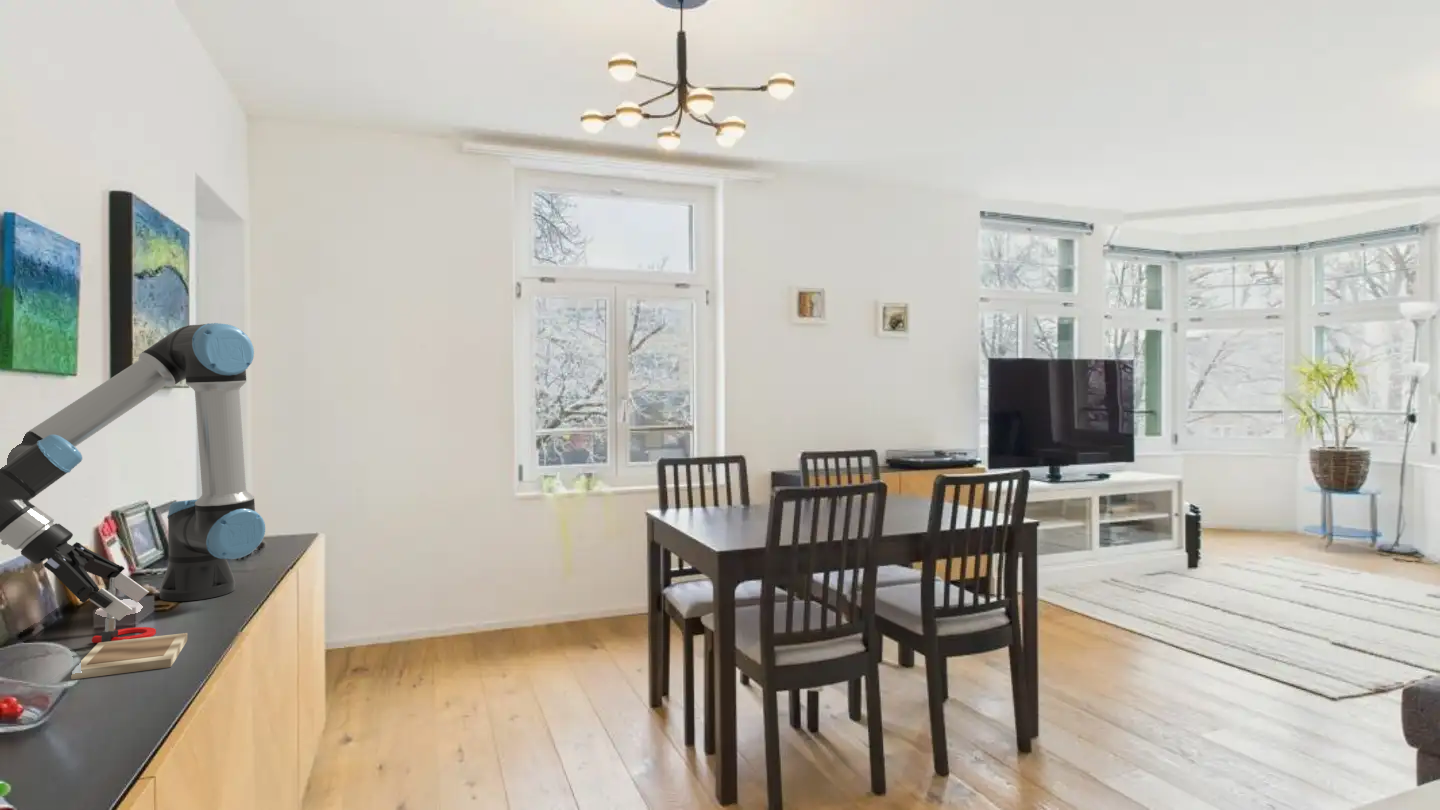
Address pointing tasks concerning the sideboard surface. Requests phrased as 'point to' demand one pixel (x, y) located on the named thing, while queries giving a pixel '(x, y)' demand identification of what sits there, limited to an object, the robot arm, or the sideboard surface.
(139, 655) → the wooden tray
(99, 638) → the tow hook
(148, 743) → the sideboard surface
